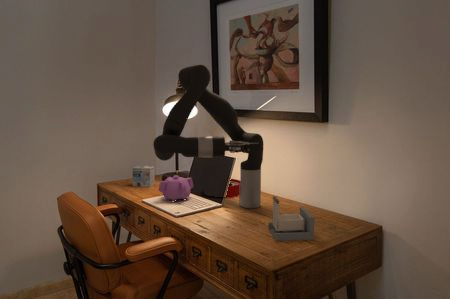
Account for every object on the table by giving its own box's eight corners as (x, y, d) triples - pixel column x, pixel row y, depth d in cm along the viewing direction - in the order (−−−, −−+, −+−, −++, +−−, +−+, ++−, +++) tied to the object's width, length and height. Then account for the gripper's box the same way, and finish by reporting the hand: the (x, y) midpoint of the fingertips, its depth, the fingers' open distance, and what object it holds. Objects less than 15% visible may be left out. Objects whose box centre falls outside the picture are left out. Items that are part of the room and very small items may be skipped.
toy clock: (195, 182, 206) (223, 176, 220) (195, 193, 207) (223, 187, 220) (221, 188, 192) (250, 182, 205) (221, 200, 192) (250, 193, 206)
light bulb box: (132, 186, 221) (131, 167, 220) (137, 184, 228) (136, 165, 226) (150, 187, 219) (150, 168, 218) (155, 184, 226) (154, 165, 225)
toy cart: (272, 228, 148) (272, 195, 147) (299, 227, 149) (299, 195, 147) (276, 235, 141) (276, 200, 140) (304, 234, 142) (305, 200, 141)
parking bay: (268, 228, 152) (268, 207, 150) (303, 227, 153) (303, 206, 152) (275, 240, 138) (275, 218, 137) (313, 239, 139) (314, 217, 138)
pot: (167, 206, 182) (166, 181, 180) (152, 198, 196) (151, 174, 195) (201, 200, 192) (201, 176, 190) (184, 193, 206) (184, 170, 205)
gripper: (212, 138, 134) (262, 137, 136) (210, 134, 147) (256, 133, 149) (212, 160, 135) (262, 159, 137) (210, 154, 148) (256, 153, 150)
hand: (259, 146), depth 143 cm, fingers closed
